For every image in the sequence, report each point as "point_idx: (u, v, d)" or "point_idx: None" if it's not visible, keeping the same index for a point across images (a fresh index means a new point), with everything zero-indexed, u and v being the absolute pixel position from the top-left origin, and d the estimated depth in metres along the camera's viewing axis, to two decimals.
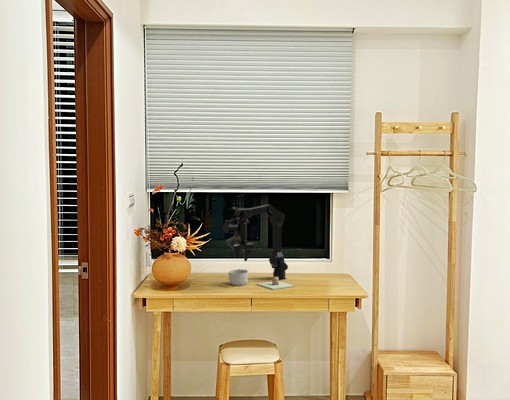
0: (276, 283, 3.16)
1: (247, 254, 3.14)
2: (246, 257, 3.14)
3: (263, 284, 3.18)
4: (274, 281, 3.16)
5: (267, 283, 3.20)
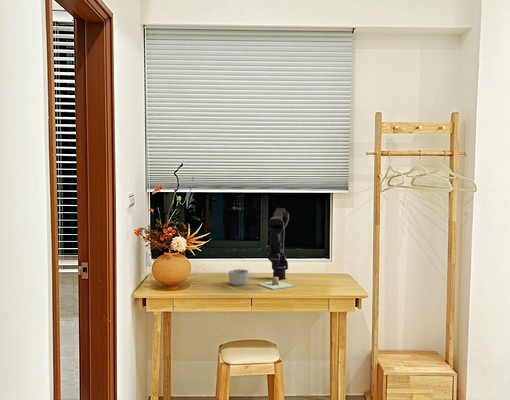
0: (276, 283, 3.16)
1: (275, 264, 3.11)
2: (274, 267, 3.12)
3: (263, 284, 3.18)
4: (274, 281, 3.16)
5: (267, 283, 3.20)
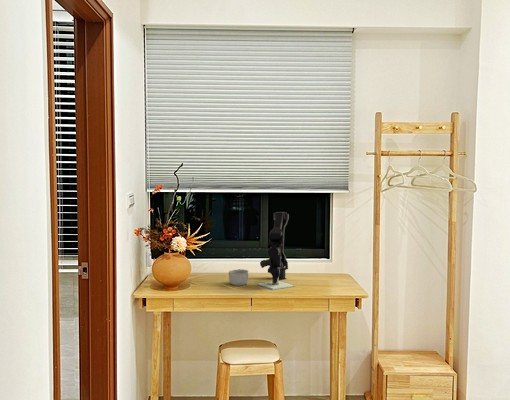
0: (276, 283, 3.16)
1: (275, 277, 3.14)
2: (274, 280, 3.15)
3: (263, 284, 3.18)
4: None
5: (267, 283, 3.20)
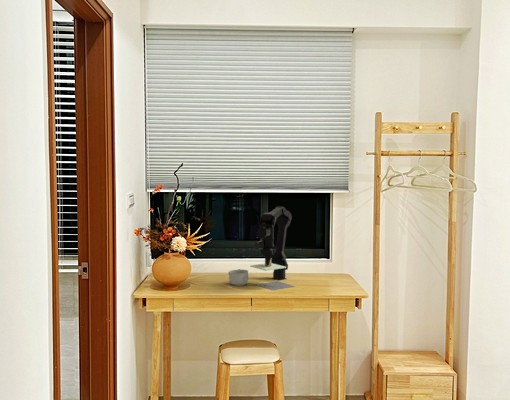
0: (269, 265, 3.16)
1: (268, 258, 3.14)
2: (267, 261, 3.15)
3: (256, 266, 3.17)
4: None
5: (260, 265, 3.20)
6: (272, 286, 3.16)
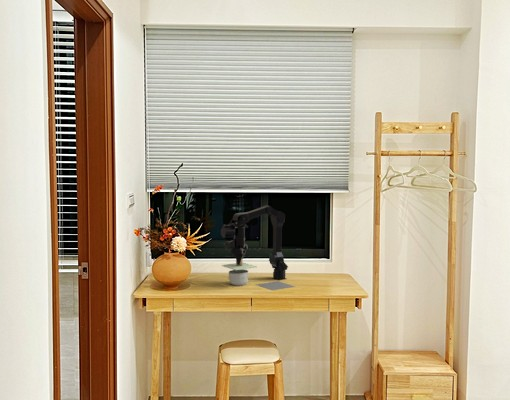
0: (240, 264, 3.20)
1: (239, 258, 3.18)
2: (238, 261, 3.18)
3: (227, 265, 3.21)
4: None
5: (231, 264, 3.24)
6: (272, 286, 3.16)
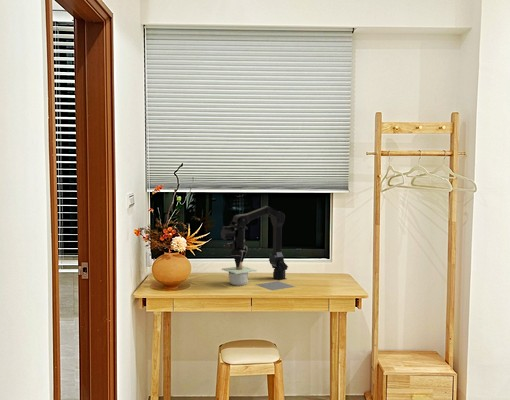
0: (240, 268, 3.20)
1: (238, 260, 3.15)
2: (237, 263, 3.16)
3: (227, 269, 3.21)
4: None
5: (231, 268, 3.24)
6: (272, 286, 3.16)
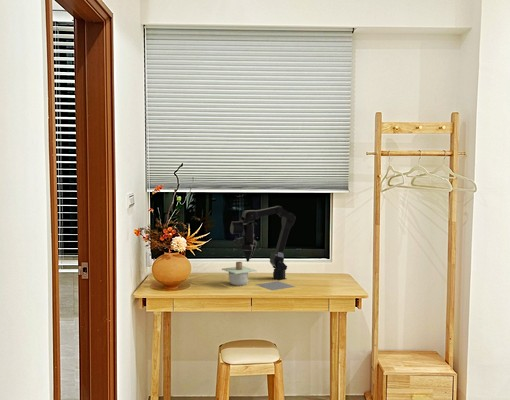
0: (240, 268, 3.20)
1: (248, 255, 3.22)
2: (247, 258, 3.22)
3: (227, 269, 3.21)
4: (238, 266, 3.20)
5: (231, 268, 3.24)
6: (272, 286, 3.16)
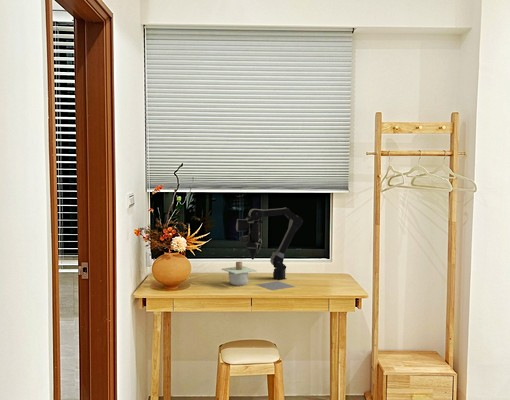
0: (239, 268, 3.20)
1: (253, 253, 3.26)
2: (252, 255, 3.26)
3: (227, 269, 3.21)
4: (237, 266, 3.19)
5: (231, 268, 3.24)
6: (272, 286, 3.16)
